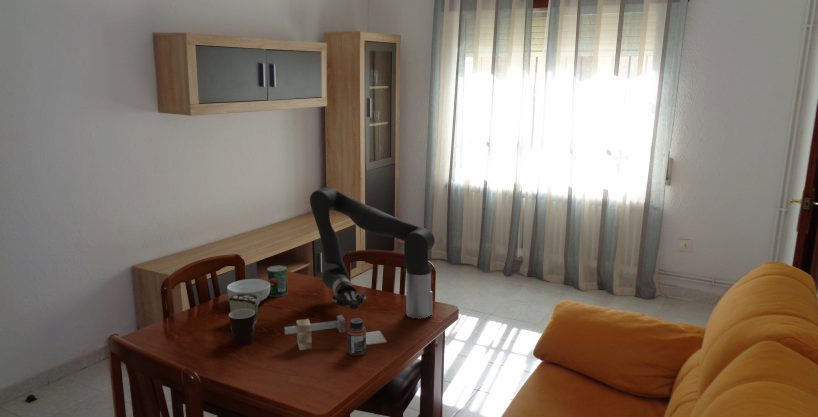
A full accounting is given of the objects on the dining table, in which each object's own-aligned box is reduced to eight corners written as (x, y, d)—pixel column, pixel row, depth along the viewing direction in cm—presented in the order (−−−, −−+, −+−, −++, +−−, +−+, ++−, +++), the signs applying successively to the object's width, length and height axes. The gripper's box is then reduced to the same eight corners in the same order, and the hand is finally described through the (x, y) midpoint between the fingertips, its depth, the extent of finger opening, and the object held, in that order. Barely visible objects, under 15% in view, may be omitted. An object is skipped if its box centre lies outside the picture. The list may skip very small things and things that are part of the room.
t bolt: (342, 326, 206) (342, 314, 205) (345, 331, 201) (344, 319, 201) (284, 334, 199) (283, 321, 198) (285, 339, 195) (285, 327, 194)
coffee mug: (249, 347, 199) (247, 319, 197) (225, 345, 201) (223, 317, 199) (264, 333, 210) (263, 306, 208) (241, 331, 212) (240, 304, 210)
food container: (267, 320, 222) (265, 294, 220) (257, 326, 216) (256, 300, 214) (238, 315, 226) (237, 290, 224) (228, 321, 220) (227, 296, 218)
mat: (379, 331, 212) (379, 330, 212) (386, 342, 204) (386, 341, 204) (354, 335, 209) (354, 334, 209) (361, 345, 201) (360, 344, 201)
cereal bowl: (279, 299, 242) (279, 283, 241) (248, 312, 229) (247, 295, 227) (250, 291, 251) (249, 275, 250) (218, 303, 238) (217, 287, 236)
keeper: (309, 342, 203) (308, 318, 201) (311, 348, 198) (310, 324, 197) (297, 344, 202) (296, 320, 200) (299, 350, 197) (298, 326, 195)
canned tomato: (264, 295, 247) (263, 269, 245) (275, 289, 254) (274, 264, 252) (280, 297, 244) (279, 272, 242) (291, 291, 251) (290, 266, 249)
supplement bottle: (348, 348, 198) (347, 317, 196) (365, 348, 199) (365, 316, 197) (347, 357, 193) (347, 324, 190) (366, 356, 193) (365, 323, 191)
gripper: (326, 282, 221) (336, 298, 205) (361, 279, 226) (373, 295, 210) (327, 301, 223) (336, 319, 207) (361, 298, 227) (373, 315, 211)
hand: (355, 307), depth 208 cm, fingers closed
